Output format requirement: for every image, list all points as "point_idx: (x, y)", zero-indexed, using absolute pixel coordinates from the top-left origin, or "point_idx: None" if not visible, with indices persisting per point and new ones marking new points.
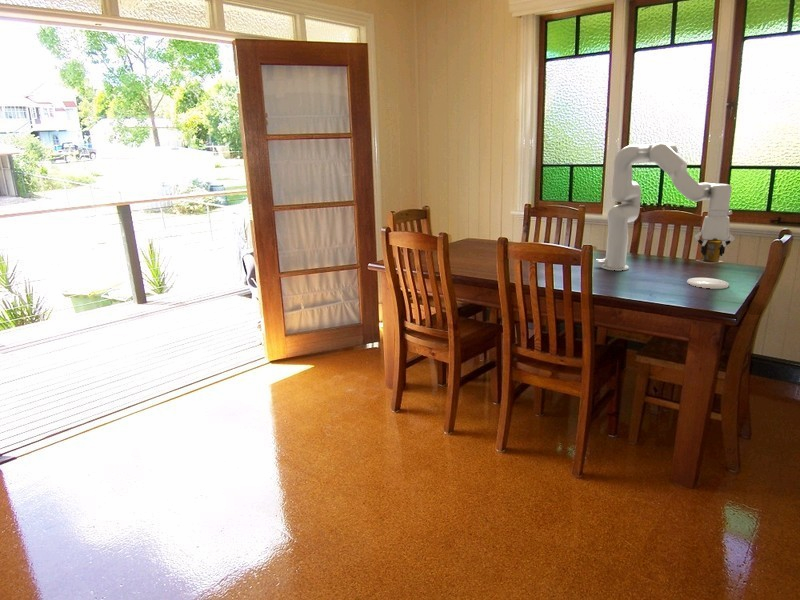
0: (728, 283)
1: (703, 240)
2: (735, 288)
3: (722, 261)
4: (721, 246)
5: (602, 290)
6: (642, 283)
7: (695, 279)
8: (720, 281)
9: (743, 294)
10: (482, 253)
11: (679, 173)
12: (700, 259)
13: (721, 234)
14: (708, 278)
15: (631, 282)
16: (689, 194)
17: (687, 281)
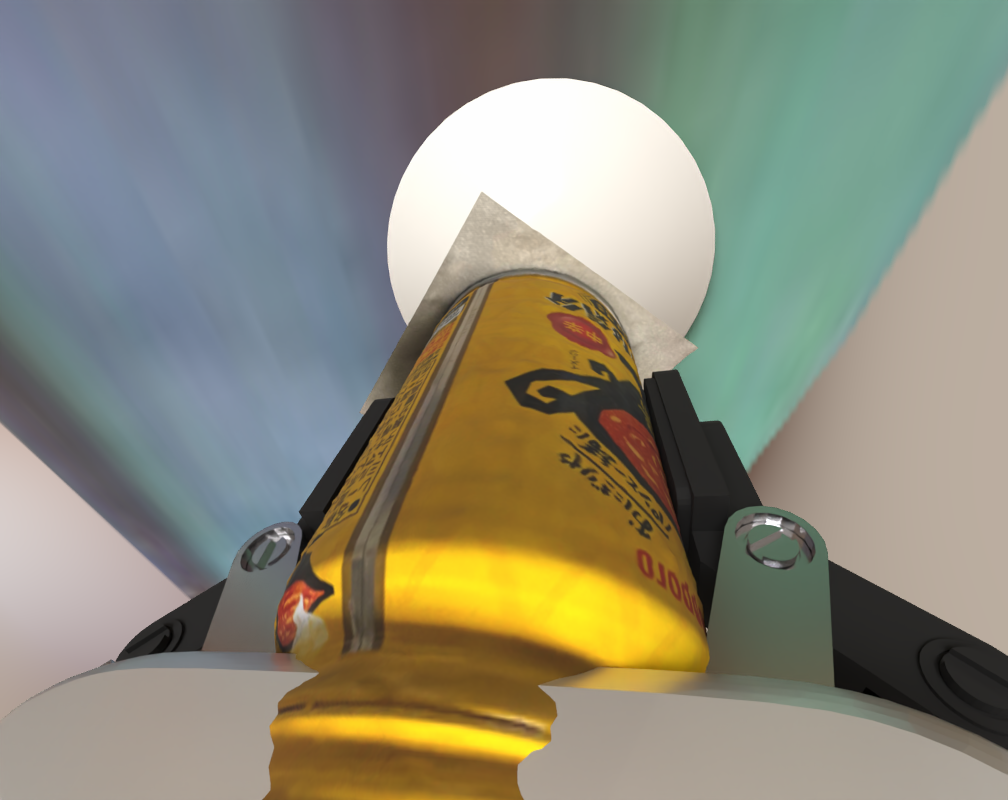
0: (712, 260)
1: (235, 650)
2: (743, 324)
3: (679, 358)
4: (689, 549)
5: (156, 556)
6: (191, 409)
7: (441, 220)
8: (654, 204)
9: (745, 455)
10: None
11: None
12: (400, 349)
13: None
14: (550, 107)
15: (137, 408)
16: None
17: (397, 297)
